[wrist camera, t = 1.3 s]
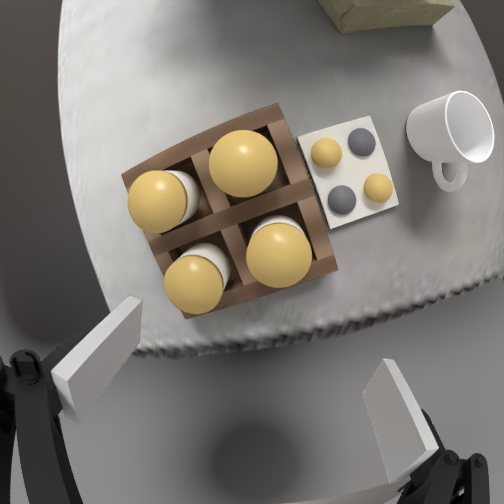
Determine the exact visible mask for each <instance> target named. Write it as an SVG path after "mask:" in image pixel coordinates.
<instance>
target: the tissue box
mask: <svg viewBox="0 0 504 504" xmlns="http://www.w3.org/2000/svg"><path fill="white" fill-rule="evenodd" d="M317 1H318V2H319V3H320V5H321V6H322V8H323V9H324V10H325V12H326V13H327V15H328V16H329V17H330V19H331V20H332V22H333V23H334V25H335V26H336V28H337V29H338V31H339V32H340V33H341V34H345V33H351V32H357V31H364V30H371V29H379V28H388V27H401V26H424V25H433V24H434V23H436V22H437V21H438V20H439V19H441V18H442V17H443V16H444V15H445V14H447V13H448V12H449V11H450V10H452V9H453V8H454V5H453V3H452V2H451V1H450V0H317Z"/></svg>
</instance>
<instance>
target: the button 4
mask: <svg viewBox="0 0 504 504" xmlns="http://www.w3.org/2000/svg"><path fill="white" fill-rule="evenodd" d="M246 260H247V265H248V268H249V270H250V272H251V273H252V275H253V276H254V277H255V278H256V279H257V280H258V281H259V282H261V283H262V284H264V285H267V286H270V287H275V288H283V287H288V286H291V285H294V284H295V283H297V282H299V281H300V280H301V279H302V278H303V277H304V276H305V275H306V273H307V272H308V270H309V268H310V265H311V261H312V251H311V247H310V244H309V242H308V240H307V238H306V236H305V234H304V232H303V230H302V229H301V227H300V226H299V224H298V223H297V222H296V221H294V220H293V219H291V218H289V217H287V216H283V215H273V216H269V217H267V218H265V219H263V220H262V221H261V222H259V223H258V225H257V226H256V227H255V229H254V231H253V234H252V236H251V239H250V242H249V245H248V248H247V253H246Z"/></svg>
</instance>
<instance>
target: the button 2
mask: <svg viewBox="0 0 504 504" xmlns="http://www.w3.org/2000/svg"><path fill="white" fill-rule="evenodd" d="M230 273H231V265H230V261H229V258H228V256H227V255H226V253H225V252H224V251H223V250H222V249H221V248H219V247H218V246H216V245H213V244H210V243H198V244H195V245H193V246H192V247H190V248H189V249H188V250H187V251H186V252H185V253H183V254H182V255H181V256H180V257H179V258H178V259H177V260H176V261H175V262H174V263H173V264H172V265H171V266H170V267H169V268H168V269H167V271H166V273H165V277H164V289H165V292H166V294H167V296H168V298H169V300H170V301H171V302H172V303H173V304H174V305H175V306H176V307H177V308H179V309H180V310H182V311H184V312H187V313H190V314H202V313H206V312H208V311H210V310H212V309H213V308H214V307H215V306H216V305H217V304H218V302H219V300H220V298H221V296H222V293H223V291H224V289H225V286H226V284H227V281H228V279H229V277H230Z"/></svg>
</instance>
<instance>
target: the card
mask: <svg viewBox="0 0 504 504" xmlns="http://www.w3.org/2000/svg"><path fill="white" fill-rule="evenodd" d="M297 140H298V143H299V145H300V148H301V150H302V153H303V155H304V158H305V161H306V163H307V166H308V168H309V171H310V174H311V176H312V179H313V182H314V185H315V188H316V190H317V193H318V196H319V199H320V202H321V205H322V208H323V211H324V214H325V217H326V220H327V223H328V226H329V228H330V229H332V228H335V227H338V226H340V225H343V224H346V223H349V222H352V221H354V220H357V219H360V218H363V217H366V216H368V215H371V214H374V213H377V212H379V211H382V210H385V209H388V208H391V207H393V206H396V205H399V202H398V199H397V195H396V191H395V188H394V184H393V181H392V177H391V174H390V171H389V168H388V164H387V161H386V158H385V155H384V152H383V149H382V147H381V144H380V141H379V138H378V135H377V133H376V130H375V128H374V125H373V122H372V120H371V117H370V116H366V117H362V118H359V119H355V120H351V121H348V122H344V123H341V124H337V125H334V126H330V127H327V128H324V129H320V130H317V131H314V132H311V133H308V134H305V135H302V136H299V137H297Z"/></svg>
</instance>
